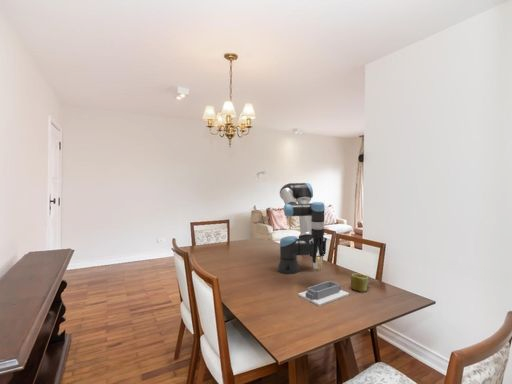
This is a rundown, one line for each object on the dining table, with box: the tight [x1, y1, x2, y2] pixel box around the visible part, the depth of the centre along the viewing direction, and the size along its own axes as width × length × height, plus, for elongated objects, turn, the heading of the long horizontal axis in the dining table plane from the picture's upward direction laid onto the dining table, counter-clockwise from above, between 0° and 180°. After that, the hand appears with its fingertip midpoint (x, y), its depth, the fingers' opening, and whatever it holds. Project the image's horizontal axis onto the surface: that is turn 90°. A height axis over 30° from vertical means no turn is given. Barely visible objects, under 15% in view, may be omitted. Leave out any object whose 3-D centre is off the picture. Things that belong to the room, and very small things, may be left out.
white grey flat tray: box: [297, 280, 350, 307], centre depth 153 cm, size 16×23×5 cm
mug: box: [350, 273, 371, 293], centre depth 160 cm, size 12×10×10 cm
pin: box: [314, 255, 322, 272], centre depth 166 cm, size 4×4×8 cm
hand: (317, 267), depth 166 cm, fingers closed on pin, 3 cm apart
